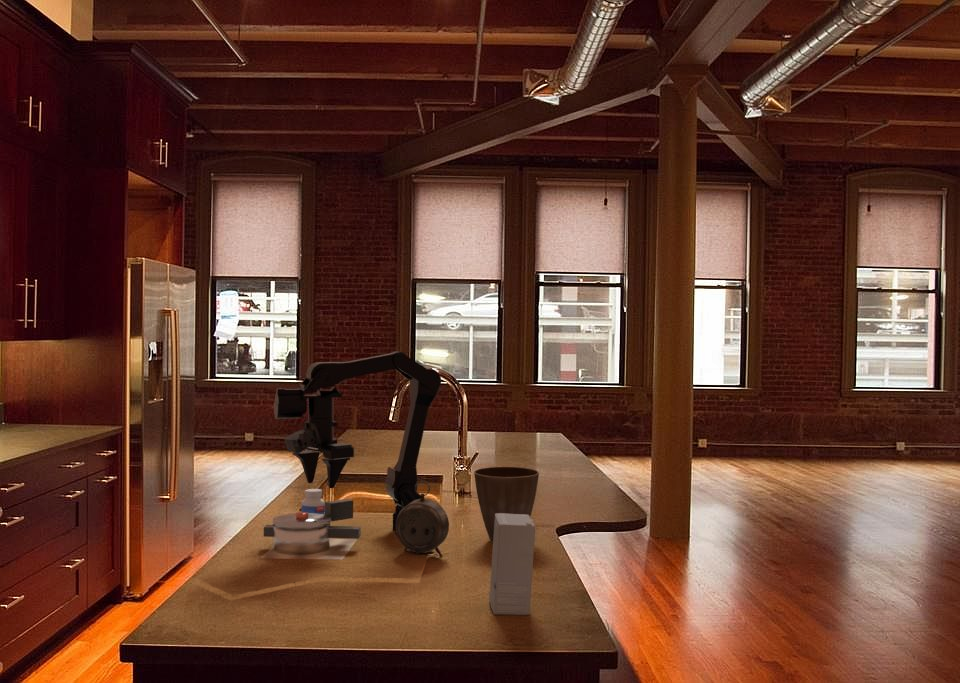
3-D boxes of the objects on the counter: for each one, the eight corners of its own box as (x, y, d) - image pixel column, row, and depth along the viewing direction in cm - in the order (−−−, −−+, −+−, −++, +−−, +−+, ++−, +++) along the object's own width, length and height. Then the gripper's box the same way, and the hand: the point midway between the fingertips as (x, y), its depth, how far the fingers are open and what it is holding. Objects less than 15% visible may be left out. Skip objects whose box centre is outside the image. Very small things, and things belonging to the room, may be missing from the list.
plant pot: (508, 552, 194) (509, 479, 194) (459, 540, 204) (460, 471, 204) (551, 541, 205) (552, 471, 205) (502, 530, 215) (503, 464, 215)
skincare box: (488, 601, 158) (489, 512, 158) (528, 600, 159) (529, 512, 159) (493, 616, 150) (494, 522, 150) (535, 615, 150) (536, 522, 150)
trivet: (357, 542, 200) (357, 539, 200) (342, 563, 182) (342, 559, 182) (282, 541, 201) (282, 537, 201) (260, 561, 183) (260, 557, 183)
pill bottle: (318, 534, 208) (319, 492, 208) (297, 532, 210) (297, 491, 209) (327, 529, 214) (328, 488, 214) (306, 527, 215) (307, 487, 215)
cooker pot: (257, 554, 186) (257, 530, 186) (272, 540, 198) (272, 518, 198) (354, 556, 185) (355, 532, 185) (363, 542, 197) (364, 520, 197)
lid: (292, 534, 183) (292, 514, 183) (261, 524, 192) (262, 505, 192) (366, 521, 196) (366, 503, 196) (334, 512, 205) (334, 495, 205)
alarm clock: (449, 555, 190) (450, 480, 190) (441, 562, 185) (442, 484, 185) (401, 551, 193) (402, 477, 193) (392, 557, 188) (393, 481, 188)
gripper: (268, 416, 204) (268, 484, 204) (313, 423, 190) (313, 495, 191) (309, 413, 212) (309, 479, 212) (355, 419, 198) (355, 489, 198)
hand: (320, 485), depth 203 cm, fingers open, 8 cm apart
